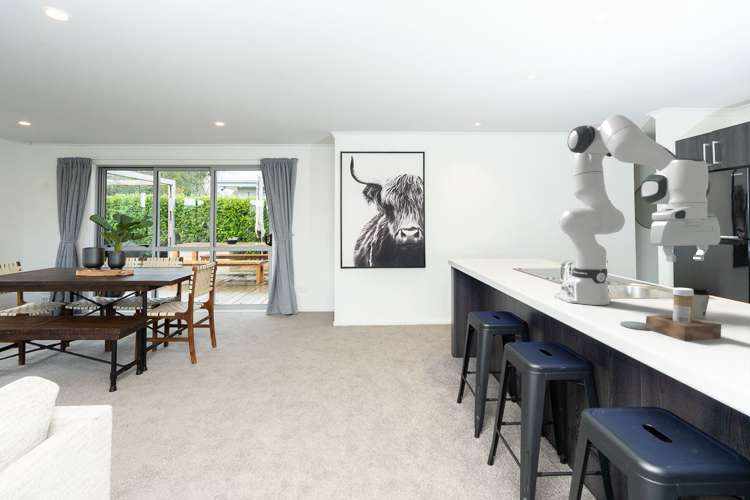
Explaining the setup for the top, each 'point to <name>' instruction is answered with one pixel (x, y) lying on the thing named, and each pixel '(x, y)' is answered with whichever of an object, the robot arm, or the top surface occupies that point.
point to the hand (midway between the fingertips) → (685, 261)
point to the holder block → (684, 328)
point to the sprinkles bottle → (682, 305)
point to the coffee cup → (700, 303)
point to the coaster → (634, 325)
